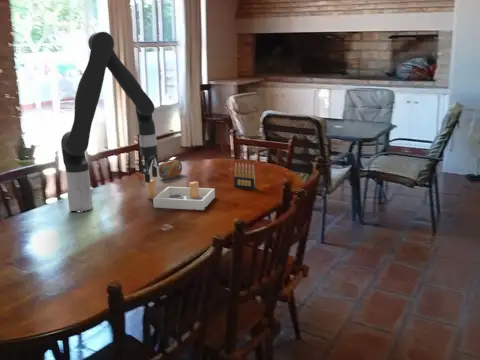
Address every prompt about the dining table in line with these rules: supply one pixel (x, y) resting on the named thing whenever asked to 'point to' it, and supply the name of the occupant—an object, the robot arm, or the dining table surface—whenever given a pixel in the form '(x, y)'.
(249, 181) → the ammunition clip
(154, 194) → the tan rounded sausage
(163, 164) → the tin
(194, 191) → the housing
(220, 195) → the dining table surface
